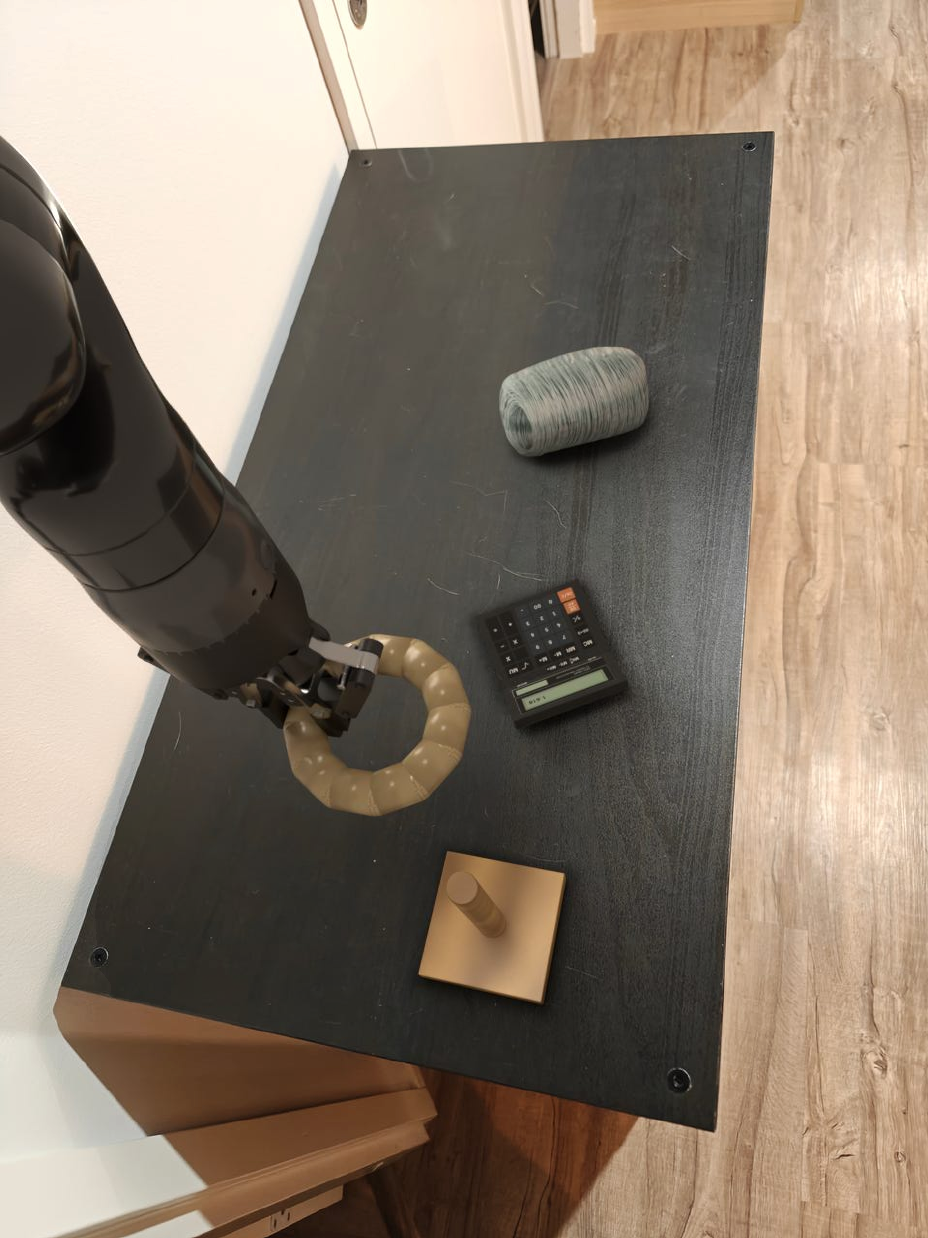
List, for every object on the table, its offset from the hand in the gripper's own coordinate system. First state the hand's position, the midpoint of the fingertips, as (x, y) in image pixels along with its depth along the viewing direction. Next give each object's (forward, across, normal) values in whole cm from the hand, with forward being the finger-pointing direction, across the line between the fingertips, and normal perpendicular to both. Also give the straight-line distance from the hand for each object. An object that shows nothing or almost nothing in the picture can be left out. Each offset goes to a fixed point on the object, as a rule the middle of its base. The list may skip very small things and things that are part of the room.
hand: (315, 718), depth 56 cm
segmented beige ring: (-1, +4, 0) cm, 4 cm away
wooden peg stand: (+21, +9, -7) cm, 24 cm away
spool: (+21, +8, +39) cm, 45 cm away
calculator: (+21, +9, +15) cm, 28 cm away
